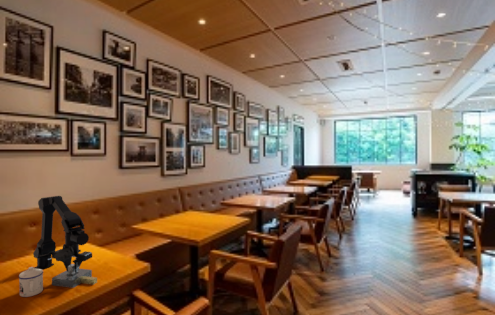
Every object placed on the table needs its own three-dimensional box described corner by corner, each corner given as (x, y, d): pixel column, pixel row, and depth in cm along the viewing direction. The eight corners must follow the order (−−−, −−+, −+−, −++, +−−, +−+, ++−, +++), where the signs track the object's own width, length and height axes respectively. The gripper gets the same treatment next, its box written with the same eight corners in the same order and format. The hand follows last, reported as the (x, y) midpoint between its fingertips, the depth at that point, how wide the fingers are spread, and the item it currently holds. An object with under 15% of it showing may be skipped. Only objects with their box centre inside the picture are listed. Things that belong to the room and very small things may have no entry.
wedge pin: (72, 279, 145) (72, 263, 145) (76, 279, 145) (76, 264, 145) (68, 281, 143) (67, 265, 142) (72, 282, 142) (72, 266, 142)
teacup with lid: (19, 291, 133) (18, 266, 133) (43, 285, 139) (43, 261, 138) (18, 302, 123) (17, 276, 123) (44, 296, 129) (43, 270, 128)
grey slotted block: (51, 285, 139) (51, 278, 139) (71, 274, 151) (71, 267, 151) (86, 289, 135) (86, 282, 135) (103, 277, 147) (103, 271, 147)
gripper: (41, 245, 137) (42, 277, 138) (75, 248, 133) (76, 281, 134) (61, 237, 148) (61, 267, 148) (92, 240, 144) (93, 271, 145)
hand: (72, 271), depth 144 cm, fingers open, 4 cm apart
